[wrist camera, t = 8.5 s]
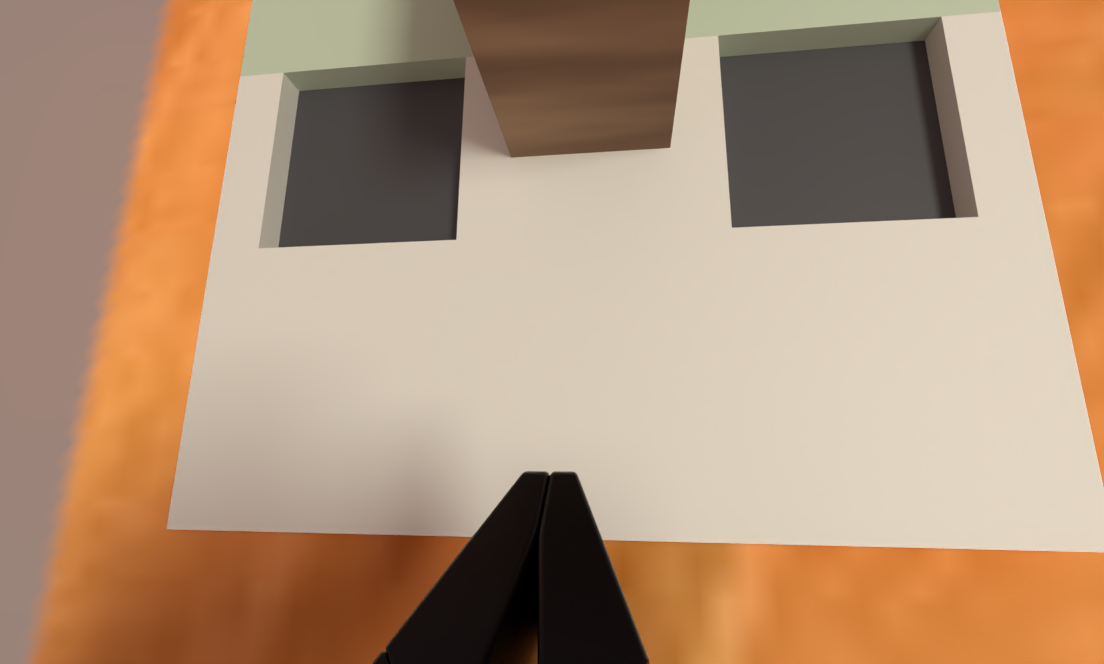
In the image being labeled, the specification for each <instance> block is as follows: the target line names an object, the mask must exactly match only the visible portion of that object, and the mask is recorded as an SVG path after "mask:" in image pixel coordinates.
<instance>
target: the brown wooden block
mask: <svg viewBox="0 0 1104 664" xmlns="http://www.w3.org/2000/svg"><path fill="white" fill-rule="evenodd" d="M453 1H454V4H455V7H456V9H457V12H458V15H459V17H460V20H461V23H462V26H463V28H464V31H465V34H466V36H467V39H468V42H469V45H470V47H471V50H472V53H473V55H474V58H475V61H476V64H477V66H478V69H479V72H480V74H481V77H482V80H483V83H484V85H485V88H486V91H487V93H488V96H489V99H490V102H491V104H492V107H493V110H494V112H495V115H496V118H497V121H498V123H499V126H500V129H501V131H502V134H503V137H504V140H505V142H506V145H507V148H508V150H509V153H510V156H511V158H513V157H530V156H546V155H562V154H579V153H595V152H611V151H628V150H644V149H660V148H670V146H671V138H672V131H673V123H674V116H675V108H676V101H677V93H678V86H679V78H680V71H681V63H682V56H683V49H684V41H685V34H686V26H687V19H688V11H689V4H690V0H453Z"/></svg>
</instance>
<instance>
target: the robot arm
mask: <svg viewBox="0 0 1104 664" xmlns="http://www.w3.org/2000/svg"><path fill="white" fill-rule="evenodd" d="M372 664H649V659H648V656H647V654H646V651H645V649H644V646H643V643H642V641H641V638H640V636H639V633H638V630H637V628H636V625H635V623H634V620H633V617H632V615H631V612H630V610H629V607H628V604H627V602H626V599H625V597H624V594H623V591H622V589H621V586H620V584H619V581H618V578H617V576H616V573H615V571H614V568H613V565H612V563H611V560H610V558H609V555H608V552H607V550H606V547H605V545H604V542H603V539H602V537H601V534H600V532H599V529H598V526H597V524H596V521H595V519H594V516H593V513H592V511H591V508H590V506H589V503H588V500H587V498H586V495H585V493H584V490H583V487H582V485H581V482H580V480H579V477H578V475H577V474H576V473H575V472H573V471H554V472H552V473H551V474H549V473H548V472H546V471H526V472H524V473H522V474H521V475H520V477H519V478H518V479H517V480H516V482H515V483H514V484H513V486H512V487H511V488H510V489H509V491H508V492H507V493H506V494H505V496H504V497H503V498H502V500H501V501H500V502H499V503H498V505H497V506H496V507H495V508H494V510H493V511H492V512H491V514H490V515H489V516H488V517H487V519H486V520H485V521H484V522H483V524H482V525H481V526H480V528H479V529H478V530H477V531H476V533H475V534H474V535H473V536H472V538H471V539H470V540H469V542H468V543H467V544H466V545H465V547H464V548H463V549H462V550H461V552H460V553H459V554H458V556H457V557H456V558H455V559H454V561H453V562H452V563H451V564H450V566H449V567H448V568H447V570H446V571H445V572H444V573H443V575H442V576H441V577H440V578H439V580H438V581H437V582H436V584H435V585H434V586H433V587H432V589H431V590H430V591H429V592H428V594H427V595H426V596H425V598H424V599H423V600H422V601H421V603H420V604H419V605H418V606H417V608H416V609H415V610H414V612H413V613H412V614H411V615H410V617H409V618H408V619H407V620H406V622H405V623H404V624H403V626H402V627H401V628H400V629H399V631H398V632H397V633H396V634H395V636H394V637H393V638H392V640H391V641H390V642H389V643H388V645H387V646H386V652H381V653H380V654H379V656H378V657H377V658H376V659H375V661H374V662H373V663H372Z"/></svg>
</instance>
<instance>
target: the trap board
mask: <svg viewBox="0 0 1104 664" xmlns="http://www.w3.org/2000/svg"><path fill="white" fill-rule="evenodd" d="M526 471H546V472H548V473H549V474H551V473H552V472H554V471H573V472H575V473H576V474H577V475H578V477H579V480H580V482H581V485H582V487H583V490H584V493H585V495H586V498H587V500H588V503H589V506H590V508H591V511H592V513H593V516H594V519H595V521H596V524H597V526H598V529H599V532H600V534H601V537H602V539H603V540H622V541H663V542H704V543H744V544H785V545H826V546H867V547H908V548H949V549H990V550H1031V551H1072V552H1104V487H1103V482H1102V478H1101V473H1100V469H1099V464H1098V459H1097V455H1096V450H1095V445H1094V441H1093V436H1092V432H1091V427H1090V422H1089V418H1088V413H1087V408H1086V404H1085V399H1084V395H1083V390H1082V385H1081V381H1080V376H1079V371H1078V367H1077V362H1076V358H1075V353H1074V348H1073V344H1072V339H1071V334H1070V330H1069V325H1068V321H1067V316H1066V311H1065V307H1064V302H1063V297H1062V293H1061V288H1060V284H1059V279H1058V274H1057V270H1056V265H1055V260H1054V256H1053V251H1052V247H1051V242H1050V237H1049V233H1048V228H1047V223H1046V219H1045V214H1044V210H1043V205H1042V200H1041V196H1040V191H1039V186H1038V182H1037V177H1036V173H1035V168H1034V163H1033V159H1032V154H1031V149H1030V145H1029V140H1028V136H1027V131H1026V126H1025V122H1024V117H1023V112H1022V108H1021V103H1020V99H1019V94H1018V89H1017V85H1016V80H1015V75H1014V71H1013V66H1012V61H1011V57H1010V52H1009V48H1008V43H1007V38H1006V34H1005V29H1004V24H1003V20H1002V15H1001V11H1000V6H999V1H998V0H690V4H689V11H688V19H687V26H686V34H685V41H684V49H683V56H682V63H681V71H680V78H679V86H678V93H677V101H676V108H675V116H674V123H673V131H672V138H671V146H670V148H660V149H644V150H628V151H611V152H595V153H579V154H562V155H546V156H530V157H513V158H511V156H510V153H509V150H508V148H507V145H506V142H505V140H504V137H503V134H502V131H501V129H500V126H499V123H498V121H497V118H496V115H495V112H494V110H493V107H492V104H491V102H490V99H489V96H488V93H487V91H486V88H485V85H484V83H483V80H482V77H481V74H480V72H479V69H478V66H477V64H476V61H475V58H474V55H473V53H472V50H471V47H470V45H469V42H468V39H467V36H466V34H465V31H464V28H463V26H462V23H461V20H460V17H459V15H458V12H457V9H456V7H455V4H454V1H453V0H253V1H252V7H251V13H250V19H249V26H248V32H247V38H246V44H245V50H244V56H243V62H242V68H241V75H240V81H239V87H238V93H237V99H236V105H235V111H234V117H233V124H232V130H231V136H230V142H229V148H228V154H227V160H226V167H225V173H224V179H223V185H222V191H221V197H220V203H219V209H218V216H217V222H216V228H215V234H214V240H213V246H212V252H211V258H210V265H209V271H208V277H207V283H206V289H205V295H204V301H203V307H202V314H201V320H200V326H199V332H198V338H197V344H196V350H195V357H194V363H193V369H192V375H191V381H190V387H189V393H188V399H187V406H186V412H185V418H184V424H183V430H182V436H181V442H180V448H179V455H178V461H177V467H176V473H175V479H174V485H173V491H172V498H171V504H170V510H169V516H168V522H167V528H166V529H172V530H213V531H254V532H295V533H335V534H376V535H417V536H458V537H472V536H473V535H474V534H475V533H476V531H477V530H478V529H479V528H480V526H481V525H482V524H483V522H484V521H485V520H486V519H487V517H488V516H489V515H490V514H491V512H492V511H493V510H494V508H495V507H496V506H497V505H498V503H499V502H500V501H501V500H502V498H503V497H504V496H505V494H506V493H507V492H508V491H509V489H510V488H511V487H512V486H513V484H514V483H515V482H516V480H517V479H518V478H519V477H520V475H521V474H522V473H524V472H526Z"/></svg>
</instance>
